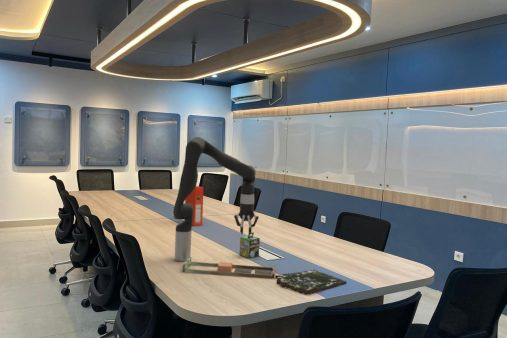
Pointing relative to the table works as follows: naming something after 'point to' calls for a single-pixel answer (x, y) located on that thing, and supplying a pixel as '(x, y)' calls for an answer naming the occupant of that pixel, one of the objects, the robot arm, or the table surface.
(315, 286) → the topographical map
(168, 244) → the table surface
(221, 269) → the block
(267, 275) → the lane
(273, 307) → the table surface
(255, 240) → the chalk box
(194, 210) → the file binder
